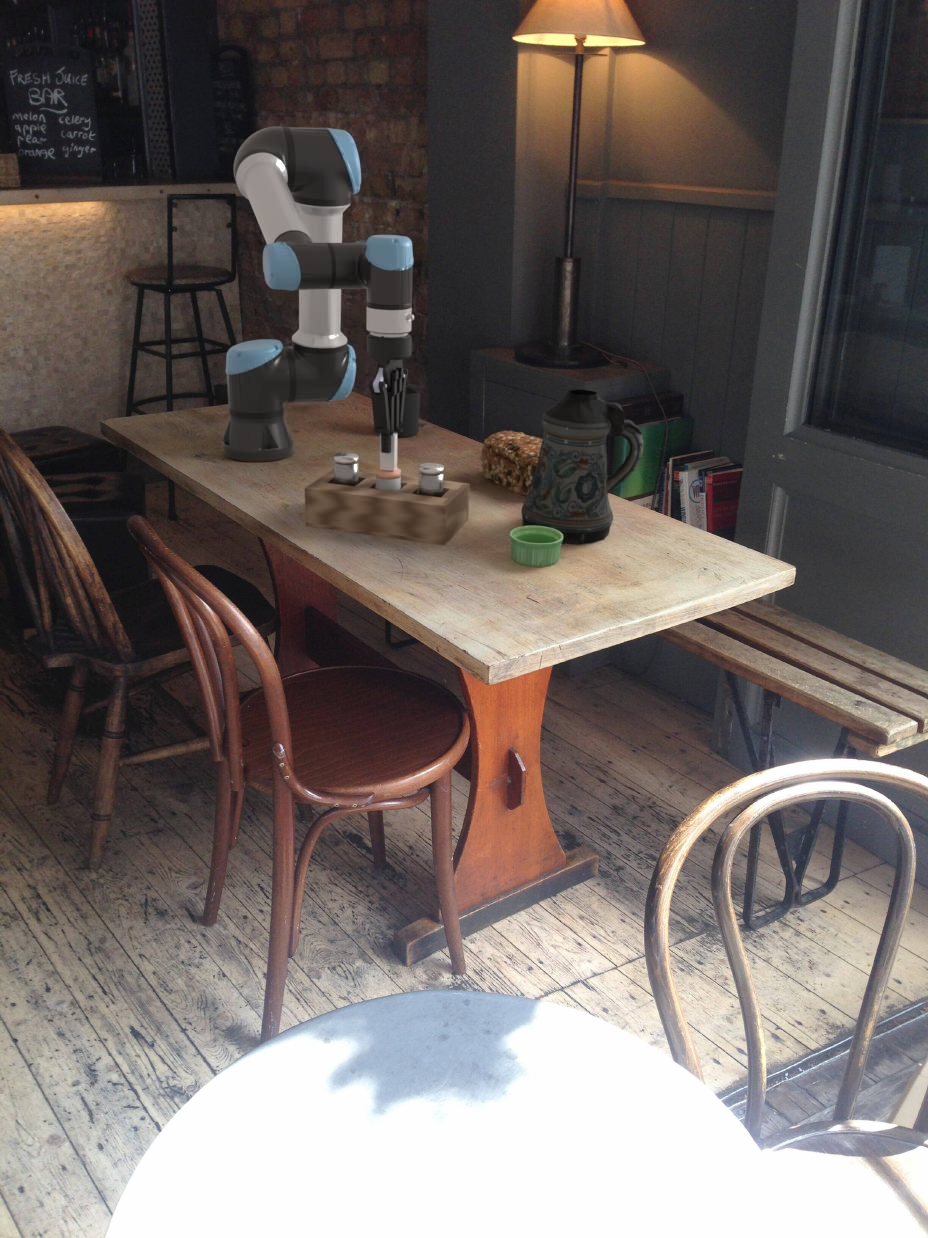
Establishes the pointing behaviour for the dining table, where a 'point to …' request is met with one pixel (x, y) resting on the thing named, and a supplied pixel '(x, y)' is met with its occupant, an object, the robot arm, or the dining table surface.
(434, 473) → the plug
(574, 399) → the beer stein
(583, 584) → the dining table surface
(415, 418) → the pen holder
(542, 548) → the ramekin
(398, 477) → the plug terracotta
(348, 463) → the plug
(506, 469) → the bread
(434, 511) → the block
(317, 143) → the robot arm
